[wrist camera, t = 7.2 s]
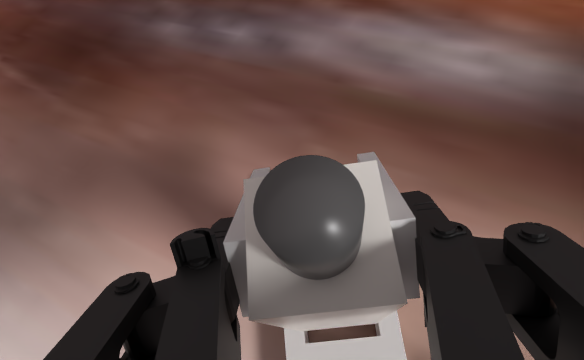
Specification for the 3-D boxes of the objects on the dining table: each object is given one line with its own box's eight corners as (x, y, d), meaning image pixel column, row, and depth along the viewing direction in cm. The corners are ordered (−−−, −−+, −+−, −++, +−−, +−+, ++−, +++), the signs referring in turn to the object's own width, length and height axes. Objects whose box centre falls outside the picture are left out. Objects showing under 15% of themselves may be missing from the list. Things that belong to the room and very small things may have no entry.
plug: (376, 323, 19) (426, 290, 7) (300, 331, 19) (217, 313, 7) (363, 248, 20) (383, 112, 8) (293, 256, 21) (216, 139, 9)
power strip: (434, 531, 22) (449, 563, 19) (306, 539, 23) (300, 571, 20) (366, 183, 32) (368, 165, 29) (278, 194, 33) (271, 178, 30)
